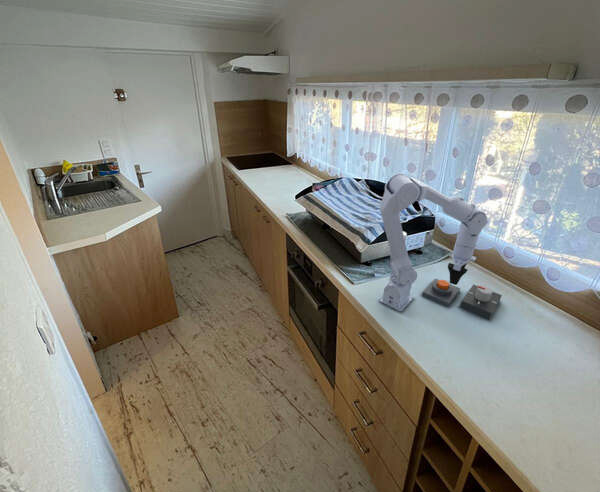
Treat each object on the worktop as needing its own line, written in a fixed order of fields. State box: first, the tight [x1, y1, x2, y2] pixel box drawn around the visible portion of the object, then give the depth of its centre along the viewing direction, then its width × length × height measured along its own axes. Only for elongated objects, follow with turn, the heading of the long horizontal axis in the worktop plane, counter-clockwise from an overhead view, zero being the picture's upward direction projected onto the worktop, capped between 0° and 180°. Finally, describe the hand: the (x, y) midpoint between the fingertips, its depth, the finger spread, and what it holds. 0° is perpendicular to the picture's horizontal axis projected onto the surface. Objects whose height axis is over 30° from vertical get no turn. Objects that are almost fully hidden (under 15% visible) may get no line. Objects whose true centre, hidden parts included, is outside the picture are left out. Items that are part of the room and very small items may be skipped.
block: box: [421, 277, 461, 308], centre depth 108 cm, size 11×9×4 cm
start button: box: [437, 279, 450, 290], centre depth 107 cm, size 4×4×2 cm
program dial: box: [475, 284, 494, 302], centre depth 101 cm, size 4×4×4 cm
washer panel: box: [459, 284, 502, 321], centre depth 103 cm, size 12×9×3 cm
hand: (455, 277), depth 104 cm, fingers open, 7 cm apart
